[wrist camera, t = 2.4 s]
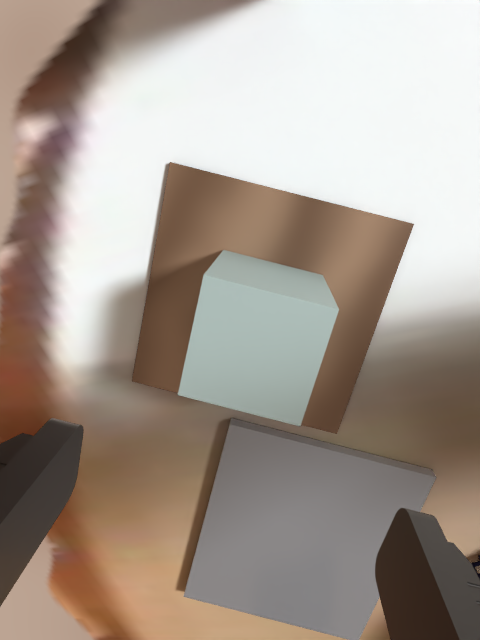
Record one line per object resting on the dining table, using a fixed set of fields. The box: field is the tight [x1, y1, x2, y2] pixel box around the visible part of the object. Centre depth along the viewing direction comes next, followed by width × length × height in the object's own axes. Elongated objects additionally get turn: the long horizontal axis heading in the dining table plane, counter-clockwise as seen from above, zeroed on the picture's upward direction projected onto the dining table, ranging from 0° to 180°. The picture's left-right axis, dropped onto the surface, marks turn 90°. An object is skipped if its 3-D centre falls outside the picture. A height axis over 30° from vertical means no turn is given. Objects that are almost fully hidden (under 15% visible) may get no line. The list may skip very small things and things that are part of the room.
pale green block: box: [178, 250, 339, 426], centre depth 23 cm, size 6×6×7 cm
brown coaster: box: [132, 162, 414, 434], centre depth 26 cm, size 14×14×1 cm
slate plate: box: [184, 418, 436, 640], centre depth 31 cm, size 14×16×1 cm
